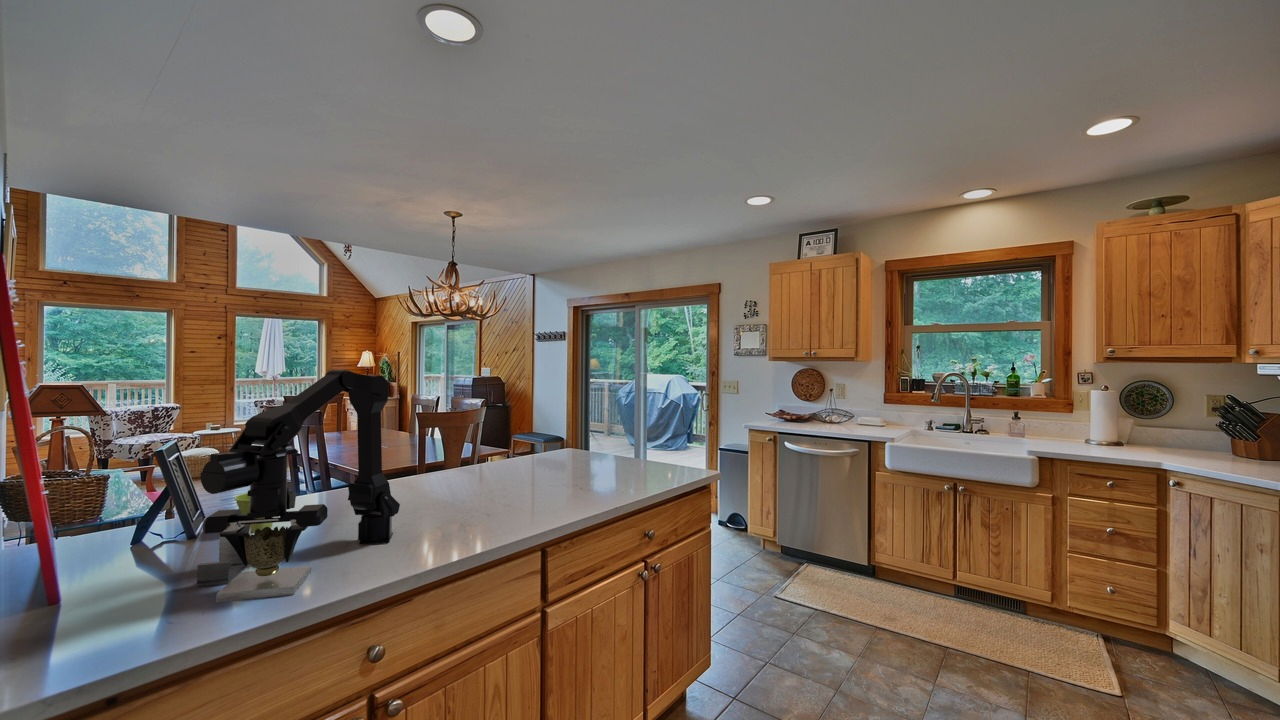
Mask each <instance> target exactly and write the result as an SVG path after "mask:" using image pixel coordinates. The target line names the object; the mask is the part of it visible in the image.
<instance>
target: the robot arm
mask: <svg viewBox="0 0 1280 720" xmlns="http://www.w3.org/2000/svg"><path fill="white" fill-rule="evenodd" d="M389 383H390V382H389V380H388V379H386V378H385V377H384V376H383V375H378V374H362V373H356V372H353V371H351V370H349V369H331V370H329V371H327V372H326V373H325V375H324V376H322V377H321V378H320V379H318V380H317V381H316V382H313V384H311V385H310V386H308V387H307V388H305V389H304V390H302V391H301V392H299V393H298V394H296V396H294V397H293V398H291V399H290V400H288V401H287V402H284V404H281V405H279V406H274V407H272V408H268V409H265V410H264V411H261V412H259V413H257V414H255V415H253V416H251V417H250V418H249V419H248V420H247V421H246V422H245V423H244V426H245V427H244V429H243V430H242V432H241V433H240V435H239V436H238V438H237V439H236V440H235V442H234V443H233V445H232V446H231V448H230V449H229V452H224V453H223V452H215V453H212V454H210V455H209V461H208V462H206V463H205V465H204V466H203V468H202V472H200V474H199V475H200V482H201V486H202V487H203V489H204V490H205V491H206V493H209V494H210V495H216V494H221V493H225V492H229V491H235V490H238V489H241V488H242V489H243V488H247V487H249V489H248V490H247V493H248V496H250V512H248V513H247V514H242V512H241V511H240V509H239V508H236V509H235V508H234V509H219V510H217V511H215V512H214V513H212V514H211V515H208V516H207V517H206V518H205V519H204V520H203V521H202V534H204V535H205V534H219V535H218V536H220V537H225V538H226V539H227V540H228V541H229V543H230V544H231V545H232V546H233V548H234V549H235V551H236V552H237V554H238V556H239V557H240V559H241V561H242V562H243V564H244V566H247V565H248V564H249V563H248V561H247V558H246V553H245V545H244V537H243V535H246V533H249V529H250V524H259V523H287V522H290V526H289V527H288V529H287V530H286V544H285V559H284V560H285V563H289V562H290V560H291V559H292V555H293V553H294V550H295V547H296V546H297V542H298V540H299V538H300V536H301V534H302V532H304V531H306V530H307V529H308V528H309V527H317V526H320V525H322V524H323V522H325V520H327V518H328V510H329V509H328V507H327V506H326V504H324V503H319V504H307V505H306V504H305V505H303V506H302V507H300V508H299V510H291V509H294V508H295V506H296V498H297V491H294V490H290V485H289V483H290V482H288V456H291V455H296V454H298V453H299V450H298V449H296V448H295V447H294V446H292V445H291V444H290V442H291V441H293V439H294V438H295V437H296V436H297V435H298V434H299V433H300V432H301V430H302V427H303V424H304V422H305V421H306V420H307V419H308V418H310V417H311V416H312V415H313V414H315V413H316V412H318V411H319V410H320V409H322V407H324V406H325V405H326V404H328V403H330V401H332V400H333V399H335V398H336V397H337V396H338V395H340V394H341V393H343V392H344V393H346V394H348V399H349V403H350V404H351V406H352V408H353V409H354V411H355V412H356V415H357V416H356V420H357V422H356V423H357V425H356V426H357V429H356V430H357V467H358V469H357V470H358V473H357V476H356V477H355V479H354V481H352V482H349V483H348V485H347V488H348V497H347V501H349V503H350V506H351V507H352V508H353V512H354V515H355V516H361V519H360V520H359V522H358V529H357V540H358V541H359V542H358V546H361V545H363V546H365V545H377V544H386V543H387V544H389V543H390V541H391V539H392V537H393V535H394V533H393V532H392V531H393V530H392V527H393V524H392V522H393V517H395V515H397V514H398V513H399V511H400V506H401V503H400V502H399V501H397V500H396V499H395V498H394V497H393V495H392V494H391V487H390V483H389V481H388V479H387V477H386V475H385V474H384V473H383V470H382V469H383V461H382V460H383V457H382V454H383V453H382V411H383V409H384V407H385V406H386V405H387V403H388V399H389V392H390V384H389ZM288 510H289V511H288ZM272 517H274V518H272ZM257 518H262V519H257ZM263 518H264V519H263ZM249 565H250V564H249ZM249 565H248V566H249ZM248 566H247V567H248Z"/></svg>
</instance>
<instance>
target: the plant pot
mask: <svg viewBox="0 0 1280 720" xmlns="http://www.w3.org/2000/svg"><path fill="white" fill-rule="evenodd" d="M233 499H234V501H236V505H237V507H238V509H240V511H241V512H242V514H247V513H248V512H250V496H248V492H246V493H240V494H239V495H236V496H235V497H234V498H233ZM272 518H275V517H272ZM257 519H262V518H257ZM263 519H264V518H263ZM250 525H251V534H253V533H255V530H256V529H260V531H261V530H262V529H263V528H265V527H270V528H271V529H272V527H273V523H259V524H250Z"/></svg>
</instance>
